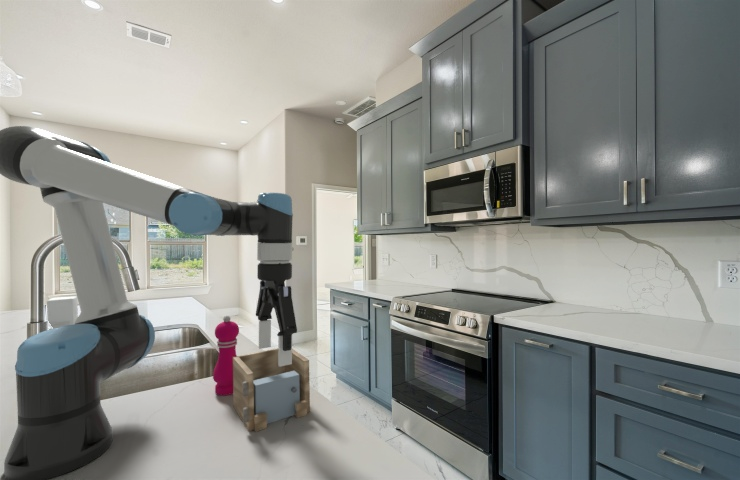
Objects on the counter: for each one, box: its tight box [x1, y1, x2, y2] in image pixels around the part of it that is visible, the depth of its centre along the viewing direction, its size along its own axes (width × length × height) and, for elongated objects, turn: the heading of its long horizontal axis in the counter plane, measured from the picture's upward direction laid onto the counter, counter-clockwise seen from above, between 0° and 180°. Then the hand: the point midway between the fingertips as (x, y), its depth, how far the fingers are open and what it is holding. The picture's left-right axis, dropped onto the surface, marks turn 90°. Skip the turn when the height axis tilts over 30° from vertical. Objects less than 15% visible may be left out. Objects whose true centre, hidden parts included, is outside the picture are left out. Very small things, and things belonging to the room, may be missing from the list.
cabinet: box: [232, 347, 311, 432], centre depth 81 cm, size 15×14×12 cm
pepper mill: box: [212, 315, 240, 396], centre depth 92 cm, size 7×7×20 cm
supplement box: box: [46, 295, 79, 328], centre depth 157 cm, size 9×9×15 cm
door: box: [253, 371, 300, 425], centre depth 78 cm, size 10×4×9 cm, turn 125°
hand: (274, 355), depth 78 cm, fingers open, 13 cm apart
